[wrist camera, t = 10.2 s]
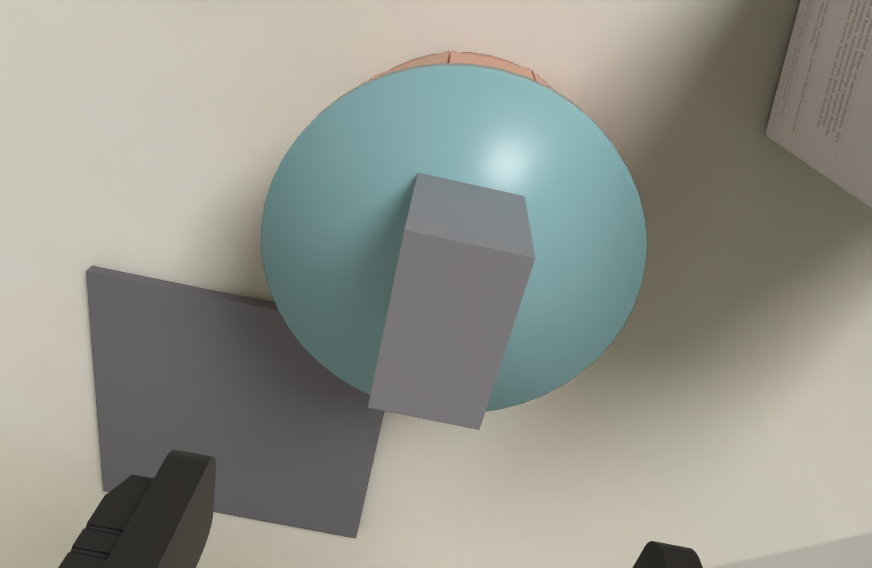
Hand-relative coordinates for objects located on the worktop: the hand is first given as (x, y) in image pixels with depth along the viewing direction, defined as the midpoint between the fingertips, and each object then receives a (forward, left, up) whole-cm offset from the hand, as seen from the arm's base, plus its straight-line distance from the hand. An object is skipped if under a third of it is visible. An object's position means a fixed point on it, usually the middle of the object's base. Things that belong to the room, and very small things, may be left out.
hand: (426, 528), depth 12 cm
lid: (0, 0, -11) cm, 11 cm away
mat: (-8, -14, -16) cm, 23 cm away
